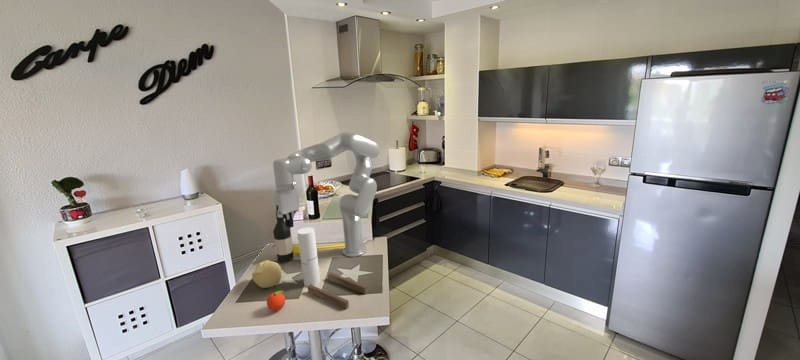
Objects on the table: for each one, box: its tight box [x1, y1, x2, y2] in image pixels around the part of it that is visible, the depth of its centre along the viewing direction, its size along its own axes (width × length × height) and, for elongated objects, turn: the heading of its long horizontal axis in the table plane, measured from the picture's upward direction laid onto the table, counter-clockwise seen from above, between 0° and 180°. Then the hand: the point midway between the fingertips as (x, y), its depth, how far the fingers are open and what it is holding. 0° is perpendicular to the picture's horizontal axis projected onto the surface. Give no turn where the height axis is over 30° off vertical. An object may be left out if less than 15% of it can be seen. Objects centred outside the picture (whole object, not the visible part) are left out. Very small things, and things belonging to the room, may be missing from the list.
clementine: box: [266, 290, 286, 312], centre depth 130 cm, size 8×7×7 cm
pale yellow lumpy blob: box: [251, 259, 283, 289], centre depth 147 cm, size 11×12×11 cm
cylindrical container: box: [296, 226, 321, 287], centre depth 145 cm, size 7×7×25 cm
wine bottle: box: [272, 213, 295, 264], centre depth 166 cm, size 8×8×30 cm
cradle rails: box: [307, 272, 368, 310], centre depth 139 cm, size 13×22×3 cm, turn 56°
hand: (289, 226), depth 147 cm, fingers closed
